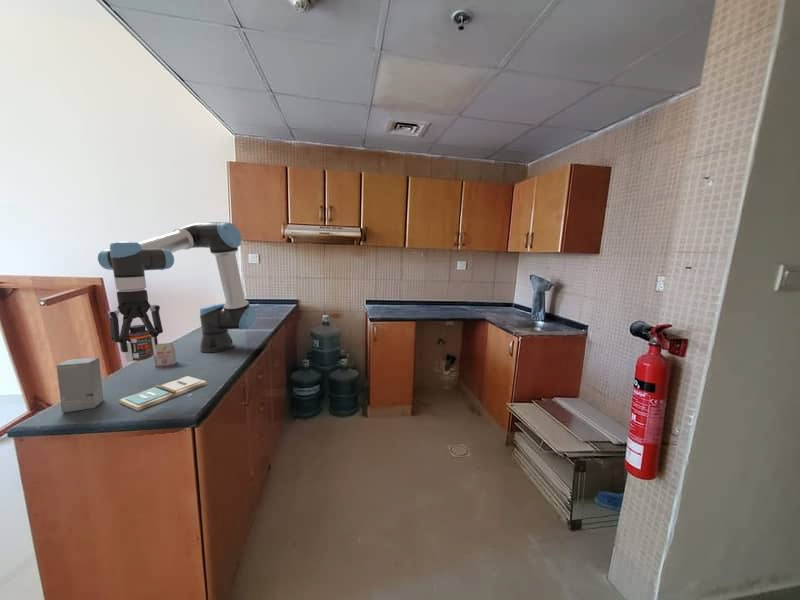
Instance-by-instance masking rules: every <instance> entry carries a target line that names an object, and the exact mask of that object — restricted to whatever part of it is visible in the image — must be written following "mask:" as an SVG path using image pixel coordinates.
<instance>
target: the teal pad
mask: <svg viewBox="0 0 800 600" xmlns="http://www.w3.org/2000/svg"><path fill="white" fill-rule="evenodd" d="M153 388H154V387H153ZM150 389H151V388H150ZM147 390H148V391H146V390H144V391H145V392H143V391H141V392H142V393H140V392H138V393H139V394H137V393H135V394H136V395H134V394H133V395H134V396H131V395H130V396H131V397H128V396H127V397H128V398H125V397H124V398H125V400H128V401H130V402H133V403H135V404H137V405H140V404H143V403H146V402H148V401H151V400H154V399H156V398H159V397H162V396H164V395H167V394H169V392H166V391H163V390H160V389H157V388H154V389H151V390H149V389H147Z"/></svg>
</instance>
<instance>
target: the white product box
mask: <svg viewBox="0 0 800 600" xmlns="http://www.w3.org/2000/svg"><path fill="white" fill-rule="evenodd" d="M155 348H156V355H155V356H153V357H154V364H155V365H154V366H155V368H158V367H169V366H174V365H175V364H176V363H177V362H178V361H177V355H176V350H175V347H174V344H173V342H163V343H158V344H157V345H155Z"/></svg>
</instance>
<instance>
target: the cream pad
mask: <svg viewBox="0 0 800 600" xmlns="http://www.w3.org/2000/svg"><path fill="white" fill-rule="evenodd" d="M184 377H185V378H183V377H181V378H182V379H180V378H178V379H179V380H177V379H176V380H177V381H175V380H173V381H174V382H172V381H170V382H171V383H169V382H167V383H168V384H166V383H164V384H165V385H163V384H161V385H162V386H163V387H165V388H168V389H171V390H174V391H177V390H180V389H183V388H185V387H188V386H191V385H193V384H196V383H199V382H201V381H200V380H201V379H200V380H197V379H198V378H197V379H193V378H190V377H191V376H190V377H186V376H184Z"/></svg>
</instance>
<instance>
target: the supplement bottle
mask: <svg viewBox="0 0 800 600" xmlns="http://www.w3.org/2000/svg"><path fill="white" fill-rule="evenodd" d="M150 336H151V335H150V333H149V331H147V329H146V327H145V325H144V324H133V325H131V326H130V330H129V335H128V339H127V341H128V342H130V343H131V350H132V357H133V361H132V362H137V361H139V362H140V361H143V360H144V361H145V360H148V359H150V358H152V357H153V355H152V346H151V338H150Z"/></svg>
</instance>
